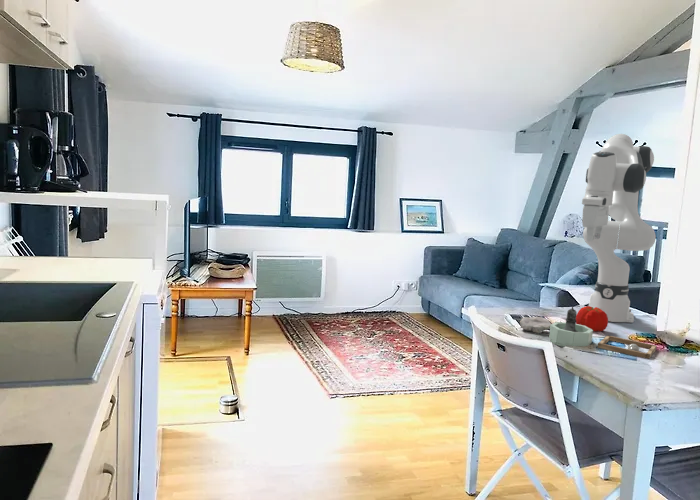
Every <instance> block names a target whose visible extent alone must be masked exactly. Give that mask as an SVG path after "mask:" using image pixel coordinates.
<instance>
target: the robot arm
mask: <svg viewBox="0 0 700 500" xmlns="http://www.w3.org/2000/svg"><path fill="white" fill-rule="evenodd" d="M654 162H655V156H654V152H653V150H652V148H651V147H650V146H645V145H640V146H634V142H633V139H632V138H631V137H630V136H629V135H628V134H626V133H617V134H614V135H612V136H611V137H609V138H608V139H607V140H606V141H605V143H604V145H602V147H601V150H599V151H596V152H594V153H592V154H591V157H590V161H589V163H588V164H589V165H588V168H587V169H586V174H585V183H586V184H587V186H586V188H585V193H584V196H583V197H582V200H581V204H582V205H583V207H582V216H581V217H582V220H581V221H582V227H583V232H582V237H583V239H584V242H585V243H586V244H587V245H588V246H589V247H590V248H591V249H592V250H593V252H594V253H595V255H596V257H597V261H598V270H597V271H598V272H597V273H598V274H597V281H596V282H595V285H594V286H595V287H594V288H595V289H594V290H595V291H594V292H592V293H591V294H590V297H589V302H588V306H590V307H593V308H595V307H597V308H599V309H600V308H601V310H602V311H604V312H605V313H606V314H607V317H608V322H611V323H612V322H613V323H634V322H635V318H634V316H635V315H634V313H633V312H632V310H631V309H630V306H631V300H630V298H629V296H628V294H629V289H630V288H629V287H630V286H629V279H630V278H629V276H630V269H631V268H630V264H629V263H628V262H627V261H626V260H625V259H623V258H622V257H619V256H617V254H615V250H622V251H631V252H632V251H633V252H641V251H649V250H650V249H651V248H652V247H653V246H654V245H655V242H656V238H657V237H656V232H655V230H654V228H653V227H652V226H651V225H650V224H647V222H645V221H644V220H643V219H642V218H641V216H640V214H639V210H638V206H639V205H638V203H639V195H640V194H639V191H641V190H642V189H643V188H644V186H645V185H646V180H647V173H648V172H649V171H650V170H651V169H652V168H653V165H654ZM609 217H610V218H611V219H613V220H609Z"/></svg>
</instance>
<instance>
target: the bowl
mask: <svg viewBox="0 0 700 500" xmlns="http://www.w3.org/2000/svg"><path fill="white" fill-rule="evenodd" d="M565 326H566V321H565V322H564V321H563V322H560V321H555V322H553V323H551V325H550V328H549V336H548V339H549V341H550V343H551V342H552V344H553V345H555V346H558V347H561V348H565V347H566V346H572V347H588V346H590V345H591V344H592V342H593V334H594V331H593V330H592V329H590V328H588V327H586V326H584V325H579V324H576V325H575V329H576V331H578V332H572V331H567V330H563V329H564V328H565Z"/></svg>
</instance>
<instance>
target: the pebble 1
mask: <svg viewBox="0 0 700 500" xmlns="http://www.w3.org/2000/svg"><path fill="white" fill-rule="evenodd" d="M630 347H636V348H637V349H638V350H639V351H640V347H638V346H637V345H636V344H630V345H629V344H628V346H627V349H629V348H630Z"/></svg>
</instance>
